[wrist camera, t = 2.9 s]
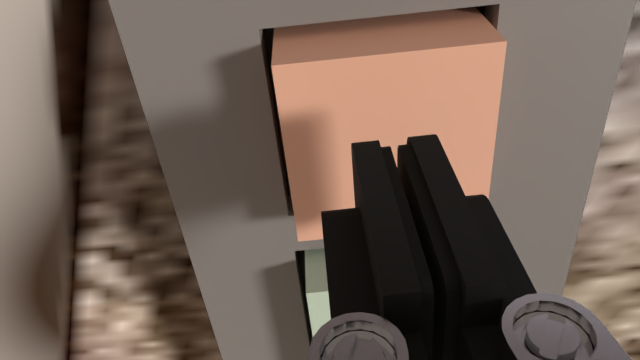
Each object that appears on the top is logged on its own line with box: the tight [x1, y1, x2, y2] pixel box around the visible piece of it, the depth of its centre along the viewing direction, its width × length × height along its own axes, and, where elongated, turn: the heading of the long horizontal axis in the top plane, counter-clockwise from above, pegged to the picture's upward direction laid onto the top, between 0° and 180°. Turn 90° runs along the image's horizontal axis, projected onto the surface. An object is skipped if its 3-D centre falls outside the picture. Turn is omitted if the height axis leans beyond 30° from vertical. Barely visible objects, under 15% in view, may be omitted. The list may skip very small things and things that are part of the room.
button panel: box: [108, 0, 636, 360], centre depth 19 cm, size 22×12×4 cm, turn 5°
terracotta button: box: [271, 7, 507, 242], centre depth 14 cm, size 5×5×2 cm
